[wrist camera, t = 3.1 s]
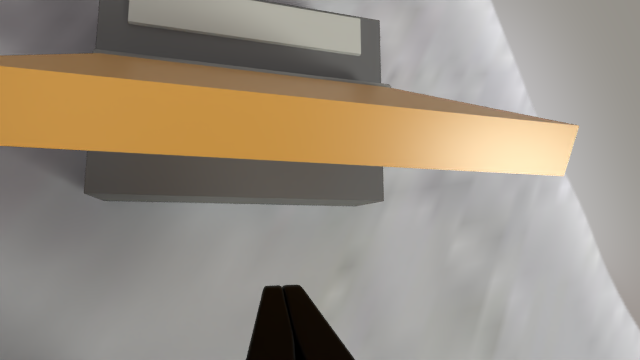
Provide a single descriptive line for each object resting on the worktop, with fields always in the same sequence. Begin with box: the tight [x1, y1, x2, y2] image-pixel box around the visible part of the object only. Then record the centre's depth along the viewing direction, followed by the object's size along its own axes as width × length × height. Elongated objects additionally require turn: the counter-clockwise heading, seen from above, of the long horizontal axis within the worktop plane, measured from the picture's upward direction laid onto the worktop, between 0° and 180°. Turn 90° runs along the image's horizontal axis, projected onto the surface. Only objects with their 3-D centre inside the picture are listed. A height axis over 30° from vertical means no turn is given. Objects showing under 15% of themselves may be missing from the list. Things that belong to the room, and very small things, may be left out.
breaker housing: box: [84, 0, 384, 206], centre depth 17 cm, size 8×11×3 cm
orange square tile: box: [0, 49, 579, 176], centre depth 11 cm, size 1×10×10 cm, turn 90°
